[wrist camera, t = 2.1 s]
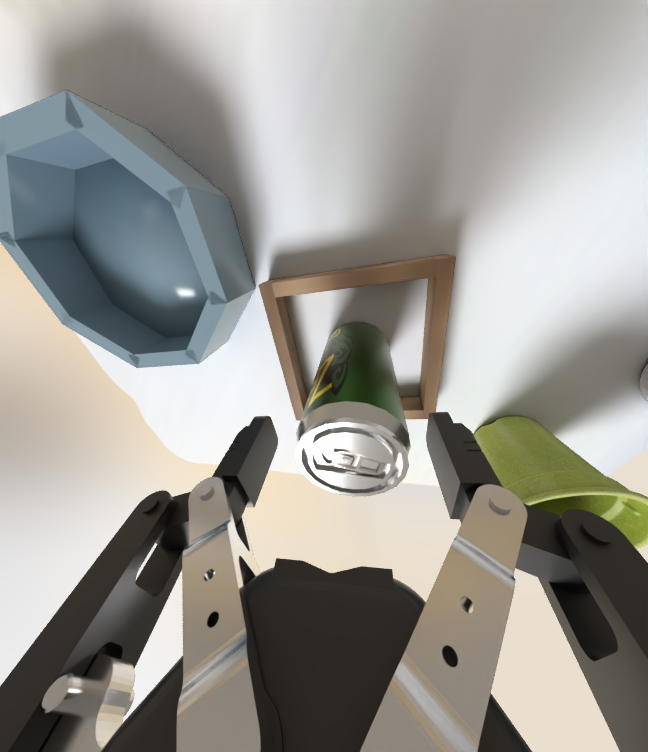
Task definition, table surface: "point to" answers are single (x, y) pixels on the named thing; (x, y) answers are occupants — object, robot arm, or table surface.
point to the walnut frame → (429, 267)
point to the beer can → (354, 417)
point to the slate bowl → (120, 233)
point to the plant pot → (558, 476)
